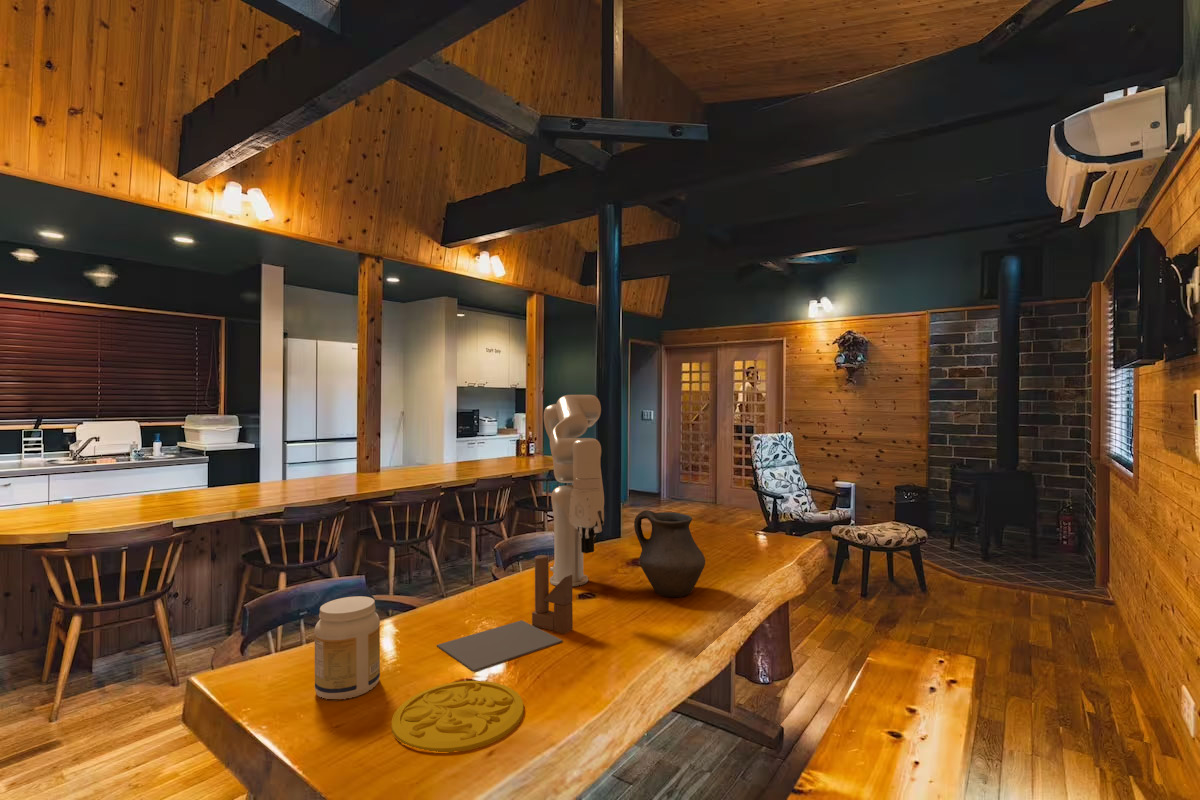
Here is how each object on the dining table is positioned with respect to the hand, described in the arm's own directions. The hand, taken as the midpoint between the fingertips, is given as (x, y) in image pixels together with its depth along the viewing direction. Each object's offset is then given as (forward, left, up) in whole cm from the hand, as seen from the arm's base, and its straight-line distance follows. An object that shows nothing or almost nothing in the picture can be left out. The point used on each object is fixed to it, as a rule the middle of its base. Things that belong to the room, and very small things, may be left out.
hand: (587, 552), depth 155 cm
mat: (0, -27, -18) cm, 32 cm away
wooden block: (0, -12, -18) cm, 21 cm away
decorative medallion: (+23, -50, -18) cm, 58 cm away
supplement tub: (-2, -62, -18) cm, 64 cm away
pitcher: (+1, +32, -18) cm, 37 cm away
